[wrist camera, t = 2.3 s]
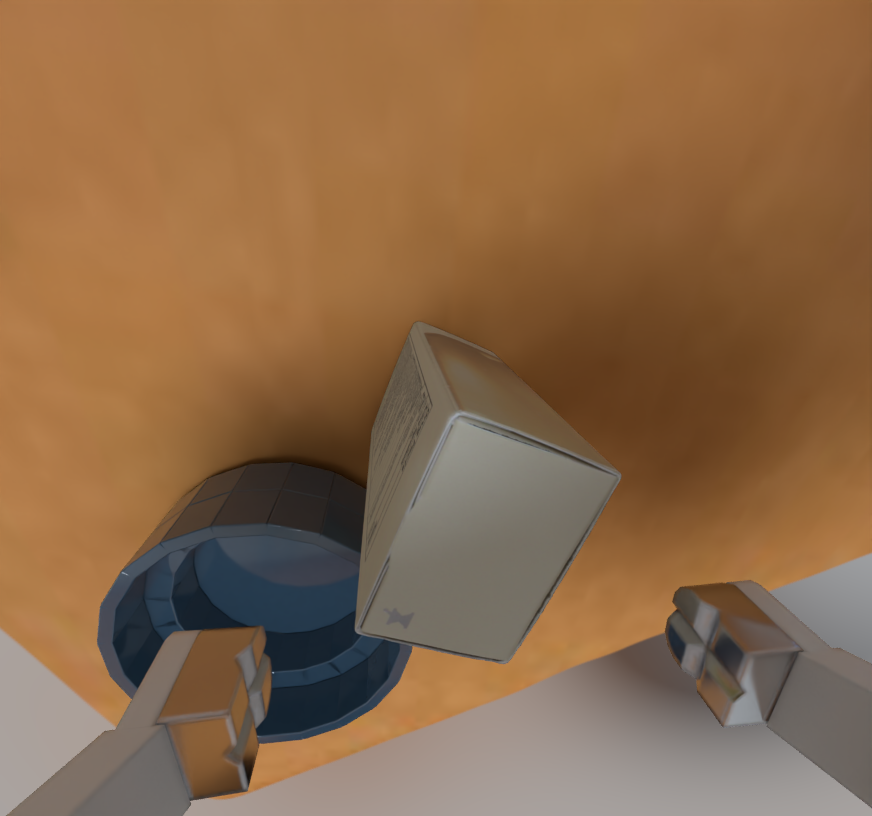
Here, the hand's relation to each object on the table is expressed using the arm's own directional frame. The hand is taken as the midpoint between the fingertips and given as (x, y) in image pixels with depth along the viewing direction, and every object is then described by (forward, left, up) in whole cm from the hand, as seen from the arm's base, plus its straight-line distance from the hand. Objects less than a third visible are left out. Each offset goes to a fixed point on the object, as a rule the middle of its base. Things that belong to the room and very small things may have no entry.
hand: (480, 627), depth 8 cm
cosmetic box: (0, 0, -14) cm, 14 cm away
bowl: (+8, +10, -14) cm, 18 cm away
